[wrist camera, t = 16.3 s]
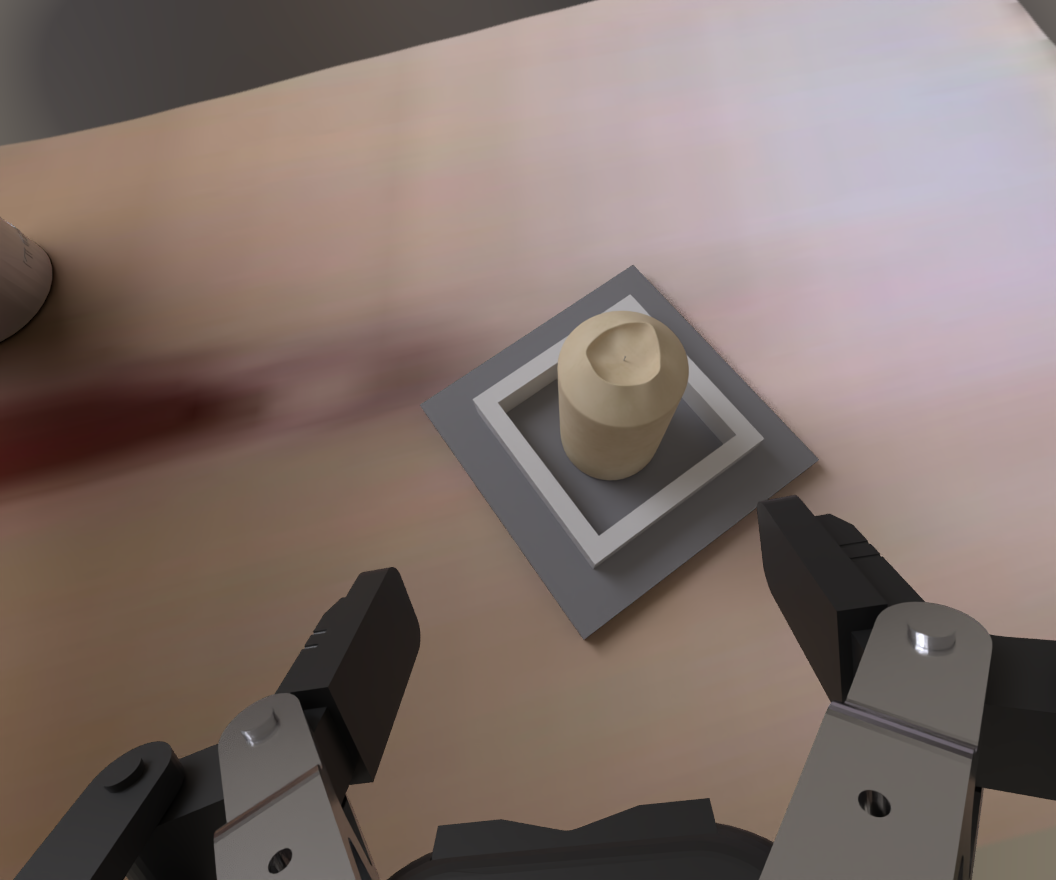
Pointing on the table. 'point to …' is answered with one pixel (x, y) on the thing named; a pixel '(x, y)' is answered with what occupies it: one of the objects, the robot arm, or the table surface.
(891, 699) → the robot arm
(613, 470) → the candle
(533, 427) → the candle tray
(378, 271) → the table surface
